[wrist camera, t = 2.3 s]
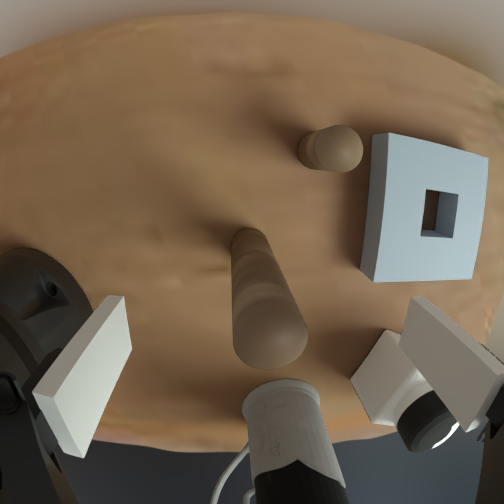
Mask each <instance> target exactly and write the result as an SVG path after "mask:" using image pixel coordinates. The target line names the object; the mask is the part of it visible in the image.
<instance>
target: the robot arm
mask: <svg viewBox="0 0 504 504" xmlns="http://www.w3.org/2000/svg"><path fill="white" fill-rule="evenodd" d="M398 346H399V347H400V348H401V350H402V351H403V352H404V353H405V355H406V356H407V357H408V358H409V359H410V361H411V362H412V363H413V364H414V366H415V367H416V368H417V369H418V371H419V372H420V373H421V374H422V376H423V377H424V378H425V380H426V381H427V382H428V383H429V385H430V386H431V387H432V388H433V390H434V391H435V392H436V394H437V395H438V396H439V398H440V399H441V400H442V401H443V403H444V404H445V405H446V407H447V408H448V409H449V411H450V412H451V413H452V415H453V416H454V417H455V419H456V420H457V421H458V423H459V424H460V426H461V427H462V428H463V429H464V431H465V432H468V431H470V430H472V429H475V428H477V427H479V425H480V424H481V422H482V420H483V419H484V417H485V416H487V417H488V418H489V421H488V423H487V424H486V426H485V427H484V429H483V430H482V432H481V433H480V435H479V436H478V438H477V441H479V440H480V439H481V437H482V436H483V435H485V438H484V439H483V441H482V442H484V451H483V460H482V468H481V474H480V481H479V487H478V492H477V497H476V502H475V504H504V363H502V362H501V361H500V360H499V359H498V358H497V357H495V355H493V354H492V353H491V352H489V350H488V349H487V348H486V347H485V346H483V345H482V344H480V343H479V342H477V341H476V340H475V339H474V338H473V337H472V336H470V335H469V334H468V333H467V332H466V331H465V330H463V329H462V328H461V327H460V326H459V325H458V324H456V323H455V322H454V321H453V320H452V319H450V318H449V317H448V316H447V315H446V314H444V313H443V312H442V311H441V310H439V309H438V308H437V307H436V306H435V305H433V304H432V303H431V302H430V301H428V300H427V299H426V298H425V297H423V296H420V297H411V299H410V303H409V307H408V311H407V315H406V319H405V323H404V327H403V330H402V334H401V337H400V341H399V344H398ZM131 350H132V345H131V340H130V334H129V328H128V322H127V315H126V308H125V301H124V296H115V295H108V296H107V297H106V298H105V299H104V301H103V302H102V303H101V304H100V305H99V306H98V308H97V309H96V310H95V311H94V312H93V310H92V308H91V305H90V303H89V301H88V299H87V297H86V295H85V294H84V292H83V290H82V289H81V287H80V286H79V284H78V283H77V282H76V280H75V279H74V278H73V277H72V276H71V274H70V273H69V272H68V271H67V270H66V269H65V268H64V267H63V266H61V265H60V264H59V263H58V262H57V261H55V260H54V259H52V258H51V257H49V256H48V255H46V254H44V253H42V252H39V251H36V250H33V249H27V248H19V249H14V250H11V251H9V252H7V253H5V254H3V255H1V256H0V504H79V502H78V501H77V498H76V496H75V495H74V492H73V490H72V489H71V486H70V484H69V482H68V480H67V478H66V475H65V473H64V471H63V469H62V466H61V464H60V461H59V459H58V456H57V455H56V453H55V451H54V449H55V446H56V444H57V442H58V443H59V445H60V447H61V448H62V450H63V452H64V453H67V454H70V455H74V456H77V457H81V458H84V457H85V454H86V452H87V449H88V447H89V444H90V442H91V439H92V437H93V435H94V432H95V430H96V427H97V425H98V423H99V420H100V418H101V416H102V414H103V411H104V409H105V407H106V404H107V402H108V400H109V398H110V395H111V393H112V391H113V389H114V387H115V384H116V382H117V380H118V378H119V376H120V374H121V371H122V369H123V367H124V365H125V363H126V361H127V359H128V357H129V355H130V353H131Z"/></svg>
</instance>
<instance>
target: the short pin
mask: <svg viewBox="0 0 504 504" xmlns="http://www.w3.org/2000/svg"><path fill="white" fill-rule="evenodd" d="M297 152H298V157H299V159H300V161H301V162H302V163H303V164H304V165H305V166H306V167H308V168H310V169H315V170H325V171H335V172H347V171H350V170H352V169H354V168H355V167H356V166H357V165H358V164H359V163H360V161H361V159H362V155H363V145H362V141H361V139H360V137H359V136H358V134H357V133H356V132H355V131H354V130H353V129H351V128H349V127H347V126H344V125H335V126H331V127H328V128H325V129H322V130H319V131H316V132H313V133H310V134H308V135H306V136H304V137H303V138H302V139H301V140H300V142H299V144H298V149H297Z"/></svg>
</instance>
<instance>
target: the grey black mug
mask: <svg viewBox="0 0 504 504" xmlns="http://www.w3.org/2000/svg"><path fill="white" fill-rule="evenodd" d="M319 405H320V397H319V394H318V392H317V390H316V389H315V388H314V387H313V386H312V385H310V384H309V383H307V382H304V381H301V380H296V379H280V380H274V381H271V382H268V383H265V384H263V385H261V386H259V387H257V388H256V389H254V390H253V391H252V392H251V393H249V394H248V396H247V397H246V398H245V400H244V402H243V405H242V413H243V417H244V418H245V420H246V422H247V427H248V439H249V441H248V443H247V444H246V445H245V447H244V448H243V449H242V451H241V452H240V453H239V454H238V456H237V457H236V458H235V459H234V460H233V461H232V463H231V464H230V465H229V466H228V468H227V469H226V470H225V471H224V473H223V474H222V475H221V477H220V479H219V481H218V483H217V485H216V488H215V490H214V492H213V495H212V499H211V503H210V504H217V500H218V496H219V494H220V492H221V489H222V487H223V485H224V483H225V481H226V479H227V478H228V476H229V475H230V473H231V472H232V470H233V469H234V468H235V467H236V466H237V465H238V463H239V462H240V461H241V460H242V459H243V457H244V456H245V455H246V454H247V453H248V451H249V450H250V462H251V473H252V483H253V486H254V487H255V488H254V489H251V490H250V491H248V492H247V493H246V494H245V496H244V498H243V504H249V503H250V502H249V501H250V498H251V496H252V495H254V494H256V503H257V504H349V501H348V498H347V495H346V492H345V489H344V488H345V487H346V485H345V482H344V479H343V476H342V474H341V470H340V467H339V464H338V462H337V458H336V456H335V453H334V450H333V447H332V444H331V441H330V438H329V435H328V432H327V429H326V426H325V424H324V421H323V418H322V415H321V412H320V409H319Z"/></svg>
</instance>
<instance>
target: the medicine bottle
mask: <svg viewBox="0 0 504 504" xmlns="http://www.w3.org/2000/svg"><path fill="white" fill-rule="evenodd" d="M400 337H401V335H400V334H397V333H395V332H392V331H390V330H385V331H384V332H383V334H382V335H381V337H380V338H379V340H378V341H377V343H376V344H375V346H374V347H373V348H372V350H371V351H370V353H369V354H368V356H367V357H366V358H365V360H364V361H363V363H362V364H361V365H360V367H359V368H358V370H357V371H356V372H355V374H354V375H353V376H352V378H351V379H350V381H351V383H352V385H353V387H354V389H355V391H356V393H357V395H358V397H359V399H360V401H361V403H362V405H363V407H364V409H365V411H366V413H367V415H368V417H369V419H370V421H371V422H372V423H375V424H383V425H391V426H395V427H396V429H397V431H398V432H399V434H400V436H401V438H402V439H403V441H404V443H405V445H406V447H407V448H408V450H409V451H411V452H417V453H419V452H424V451H427V450H430V449H432V448H434V447H436V446H438V445H440V444H441V443H442V442H444V441H445V440H446V439H448V438H449V437H450V436H451V435H452V434H453V432H454V431H455V430H456V429H457V427H458V426H459V423H458V421H457V420H456V419H455V417H454V416H453V415H452V413H451V412H450V411H449V409H448V408H447V407H446V405H445V404H444V403H443V401H442V400H441V399H440V398H439V396H438V395H437V394H436V392H435V391H434V390H433V388H432V387H431V386H430V385H429V383H428V382H427V381H426V380H425V378H424V377H423V376H422V374H421V373H420V372H419V371H418V369H417V368H416V367H415V366H414V364H413V363H412V362H411V361H410V359H409V358H408V357H407V356H406V355H405V353H404V352H403V351H402V350H401V348H400V347H399V346H398V344H399V341H400Z"/></svg>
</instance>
